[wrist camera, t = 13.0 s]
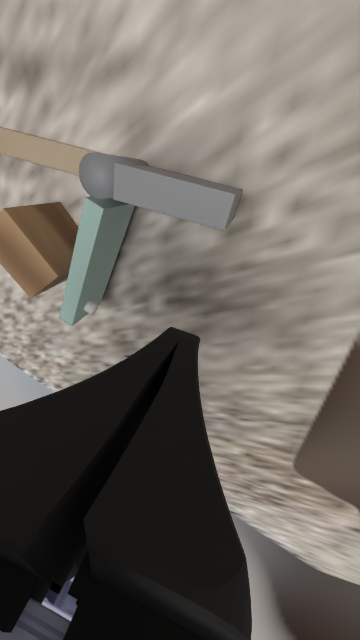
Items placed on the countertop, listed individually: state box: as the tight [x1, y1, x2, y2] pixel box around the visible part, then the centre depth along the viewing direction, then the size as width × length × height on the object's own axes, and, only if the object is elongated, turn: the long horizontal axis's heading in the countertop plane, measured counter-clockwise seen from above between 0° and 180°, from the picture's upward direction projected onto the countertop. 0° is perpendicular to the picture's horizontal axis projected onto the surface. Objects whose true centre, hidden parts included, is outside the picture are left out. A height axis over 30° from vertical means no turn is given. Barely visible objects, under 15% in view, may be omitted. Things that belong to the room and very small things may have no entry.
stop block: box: [0, 202, 78, 298], centre depth 18 cm, size 4×5×5 cm
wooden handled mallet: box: [0, 127, 243, 231], centre depth 14 cm, size 2×21×5 cm, turn 78°
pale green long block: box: [59, 196, 135, 326], centre depth 17 cm, size 10×3×4 cm, turn 152°
